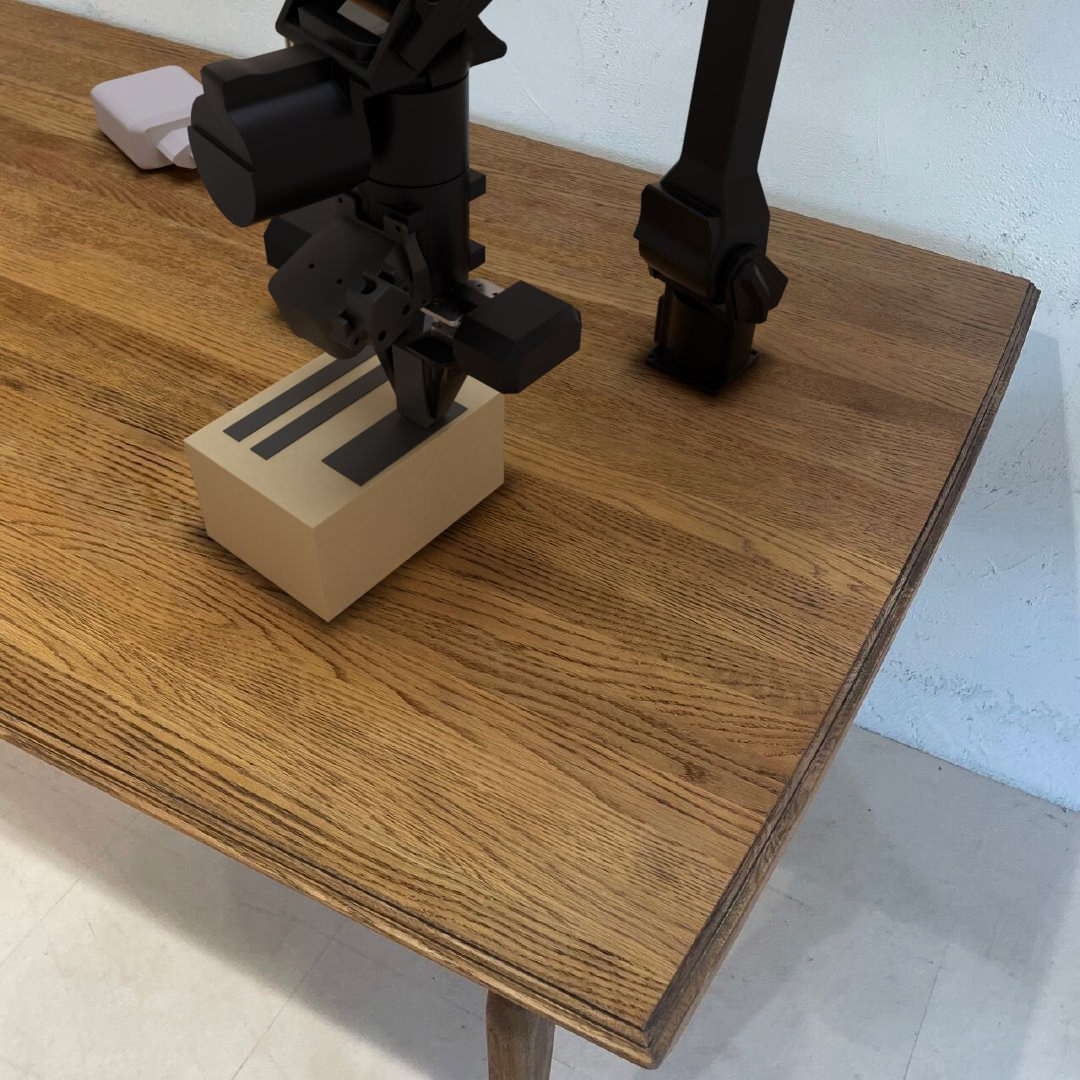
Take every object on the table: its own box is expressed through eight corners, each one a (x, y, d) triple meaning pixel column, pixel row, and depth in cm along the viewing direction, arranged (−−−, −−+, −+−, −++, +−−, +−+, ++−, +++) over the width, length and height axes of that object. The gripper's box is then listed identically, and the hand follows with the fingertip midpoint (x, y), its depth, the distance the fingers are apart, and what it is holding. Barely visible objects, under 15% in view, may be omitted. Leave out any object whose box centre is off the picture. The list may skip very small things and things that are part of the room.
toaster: (504, 483, 76) (505, 387, 70) (328, 623, 67) (312, 527, 62) (386, 413, 81) (377, 317, 75) (207, 535, 72) (181, 438, 66)
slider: (448, 412, 68) (446, 344, 65) (425, 429, 67) (421, 360, 63) (419, 395, 69) (415, 327, 66) (396, 411, 68) (391, 343, 64)
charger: (169, 202, 100) (100, 134, 108) (264, 173, 104) (191, 110, 112) (157, 151, 96) (87, 85, 104) (256, 123, 100) (181, 61, 108)
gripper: (160, 153, 56) (212, 402, 67) (439, 299, 48) (445, 554, 59) (327, 83, 62) (349, 322, 73) (598, 202, 54) (577, 450, 66)
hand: (422, 406), depth 68 cm, fingers closed on slider, 2 cm apart
